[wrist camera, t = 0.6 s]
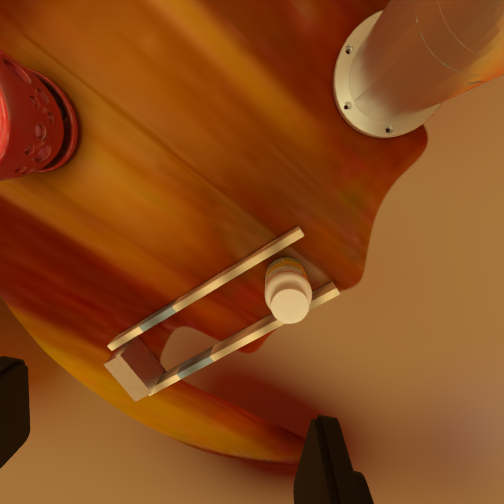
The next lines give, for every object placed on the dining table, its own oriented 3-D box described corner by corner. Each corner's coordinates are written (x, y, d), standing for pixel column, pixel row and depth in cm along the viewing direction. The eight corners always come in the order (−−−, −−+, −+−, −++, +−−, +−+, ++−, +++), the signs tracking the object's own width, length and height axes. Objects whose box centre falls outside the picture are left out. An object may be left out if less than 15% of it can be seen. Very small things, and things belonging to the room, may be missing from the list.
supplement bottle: (299, 297, 38) (308, 335, 29) (261, 288, 39) (258, 323, 29) (309, 261, 37) (322, 289, 28) (270, 252, 37) (270, 277, 28)
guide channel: (298, 225, 36) (302, 232, 31) (335, 286, 38) (345, 302, 33) (116, 336, 42) (96, 356, 37) (156, 384, 44) (141, 409, 39)
